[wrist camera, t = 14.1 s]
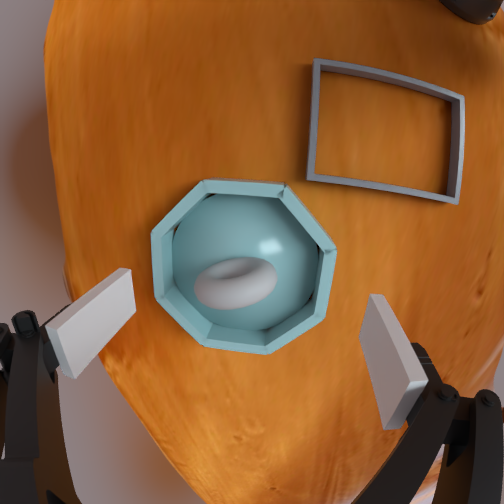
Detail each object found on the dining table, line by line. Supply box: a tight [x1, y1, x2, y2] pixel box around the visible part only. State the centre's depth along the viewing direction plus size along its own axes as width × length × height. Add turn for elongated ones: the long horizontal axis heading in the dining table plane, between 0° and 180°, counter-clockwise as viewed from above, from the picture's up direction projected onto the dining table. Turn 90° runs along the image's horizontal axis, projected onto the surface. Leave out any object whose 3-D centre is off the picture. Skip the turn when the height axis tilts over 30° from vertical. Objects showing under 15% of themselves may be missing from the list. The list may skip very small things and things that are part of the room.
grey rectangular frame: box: [305, 58, 465, 205], centre depth 30 cm, size 22×16×2 cm
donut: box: [194, 257, 278, 310], centre depth 34 cm, size 10×4×10 cm, turn 101°
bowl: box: [151, 177, 337, 355], centre depth 37 cm, size 23×23×4 cm
